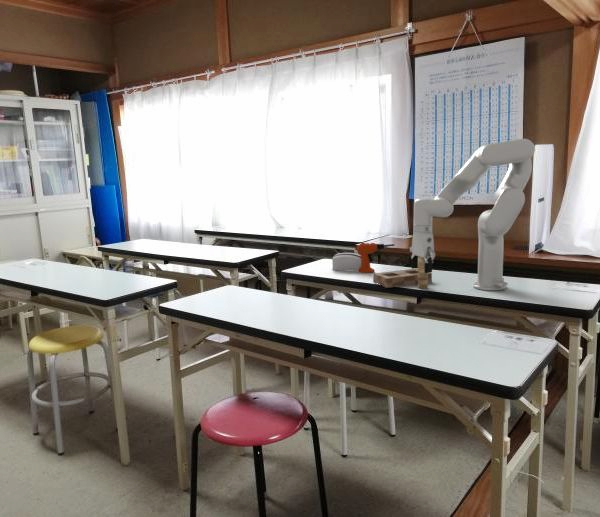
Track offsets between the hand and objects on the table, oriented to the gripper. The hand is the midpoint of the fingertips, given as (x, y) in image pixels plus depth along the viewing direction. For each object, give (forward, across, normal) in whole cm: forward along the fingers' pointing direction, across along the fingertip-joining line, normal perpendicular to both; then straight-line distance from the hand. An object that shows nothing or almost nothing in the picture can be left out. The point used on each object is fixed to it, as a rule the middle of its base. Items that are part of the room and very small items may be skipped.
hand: (421, 270), depth 215 cm
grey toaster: (+8, +49, +10) cm, 51 cm away
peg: (+7, 0, -1) cm, 8 cm away
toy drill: (+8, +37, +1) cm, 38 cm away
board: (+8, +13, +1) cm, 15 cm away
